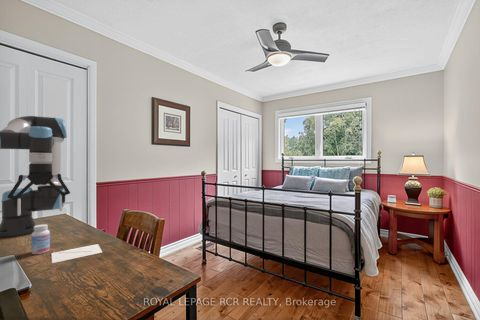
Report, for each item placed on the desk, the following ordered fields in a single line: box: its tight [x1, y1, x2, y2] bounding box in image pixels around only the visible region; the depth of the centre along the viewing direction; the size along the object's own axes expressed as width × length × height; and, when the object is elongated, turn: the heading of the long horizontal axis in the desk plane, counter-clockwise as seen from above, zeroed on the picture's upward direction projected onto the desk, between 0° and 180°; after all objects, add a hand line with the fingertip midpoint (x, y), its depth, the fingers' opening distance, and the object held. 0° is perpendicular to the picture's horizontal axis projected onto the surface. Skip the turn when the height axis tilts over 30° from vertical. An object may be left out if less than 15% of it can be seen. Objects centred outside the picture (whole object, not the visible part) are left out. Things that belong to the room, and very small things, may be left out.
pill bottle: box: [30, 224, 51, 255], centre depth 101 cm, size 6×6×11 cm
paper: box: [51, 243, 103, 264], centre depth 100 cm, size 12×17×1 cm
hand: (40, 212), depth 101 cm, fingers open, 13 cm apart
